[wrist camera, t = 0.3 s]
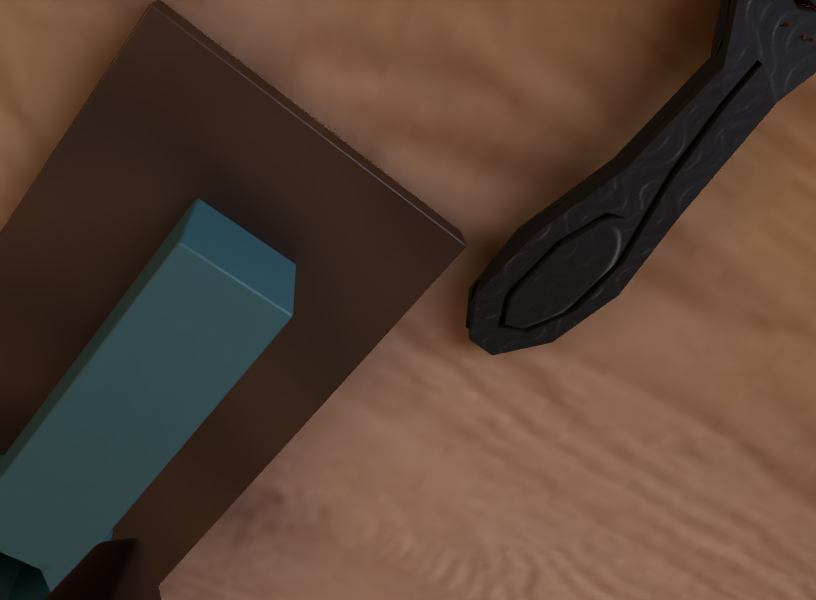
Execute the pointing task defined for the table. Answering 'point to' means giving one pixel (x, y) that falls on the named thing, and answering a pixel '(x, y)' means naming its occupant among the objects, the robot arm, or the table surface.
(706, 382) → the table surface
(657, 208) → the hairbrush
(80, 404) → the teal ring spanner
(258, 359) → the brown peg board
